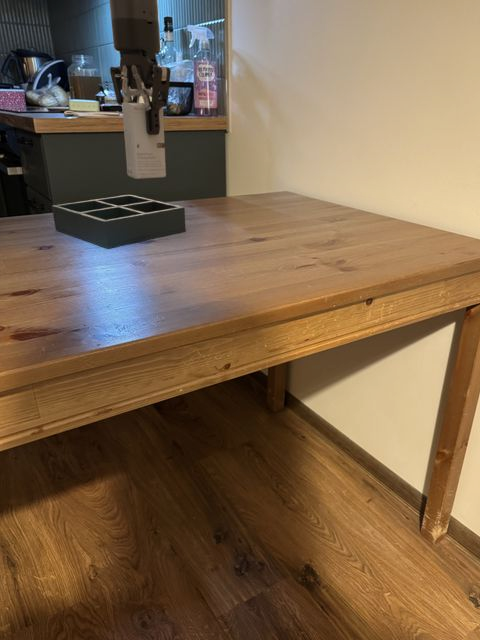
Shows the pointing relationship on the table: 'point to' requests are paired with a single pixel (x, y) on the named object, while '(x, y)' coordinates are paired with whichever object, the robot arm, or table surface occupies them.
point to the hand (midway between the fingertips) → (143, 133)
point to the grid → (119, 220)
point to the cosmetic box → (143, 143)
